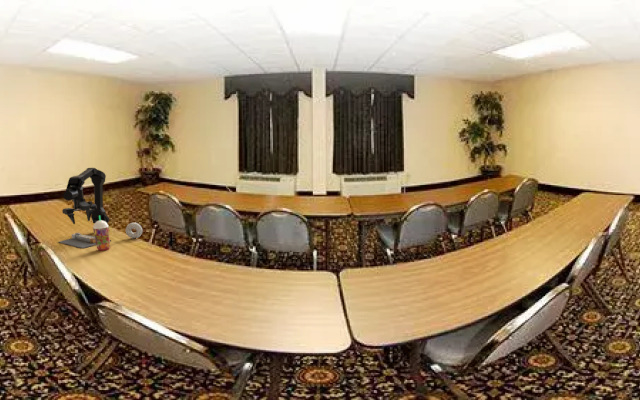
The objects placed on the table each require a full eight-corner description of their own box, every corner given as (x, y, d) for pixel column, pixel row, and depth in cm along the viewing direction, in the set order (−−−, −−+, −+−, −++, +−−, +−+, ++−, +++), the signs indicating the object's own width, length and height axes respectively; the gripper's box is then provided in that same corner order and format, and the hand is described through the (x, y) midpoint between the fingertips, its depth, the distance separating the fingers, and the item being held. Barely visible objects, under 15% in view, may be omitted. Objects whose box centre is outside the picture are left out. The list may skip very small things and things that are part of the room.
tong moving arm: (76, 239, 299) (75, 235, 298) (78, 238, 300) (78, 234, 300) (93, 243, 289) (92, 239, 288) (95, 242, 290) (95, 238, 289)
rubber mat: (86, 235, 310) (86, 234, 310) (111, 241, 295) (111, 240, 295) (58, 242, 296) (58, 241, 295) (82, 248, 280) (82, 247, 280)
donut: (125, 239, 297) (123, 223, 295) (127, 238, 301) (125, 222, 299) (142, 238, 298) (140, 222, 296) (143, 237, 301) (142, 221, 300)
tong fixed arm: (72, 238, 301) (71, 233, 301) (78, 237, 305) (77, 231, 304) (92, 243, 288) (92, 237, 288) (99, 241, 292) (98, 236, 291)
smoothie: (96, 252, 272) (91, 218, 268) (95, 249, 279) (90, 215, 275) (112, 250, 276) (108, 216, 272) (110, 246, 283) (106, 213, 279)
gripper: (70, 201, 280) (73, 227, 283) (100, 195, 295) (103, 220, 298) (60, 199, 286) (63, 225, 289) (90, 194, 301) (93, 218, 304)
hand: (81, 222), depth 295 cm, fingers open, 9 cm apart
